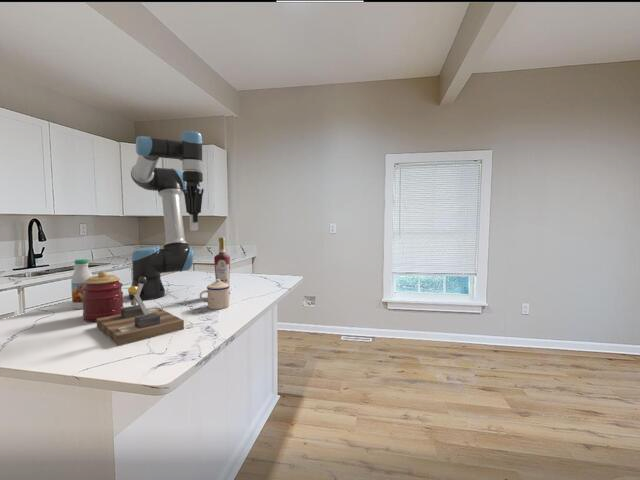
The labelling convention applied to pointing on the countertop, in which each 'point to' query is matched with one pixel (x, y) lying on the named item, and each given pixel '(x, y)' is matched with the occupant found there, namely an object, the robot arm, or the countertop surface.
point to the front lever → (138, 299)
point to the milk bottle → (79, 282)
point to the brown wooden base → (138, 324)
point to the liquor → (222, 263)
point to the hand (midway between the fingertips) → (194, 230)
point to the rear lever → (139, 288)
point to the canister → (102, 297)
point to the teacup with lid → (217, 295)
